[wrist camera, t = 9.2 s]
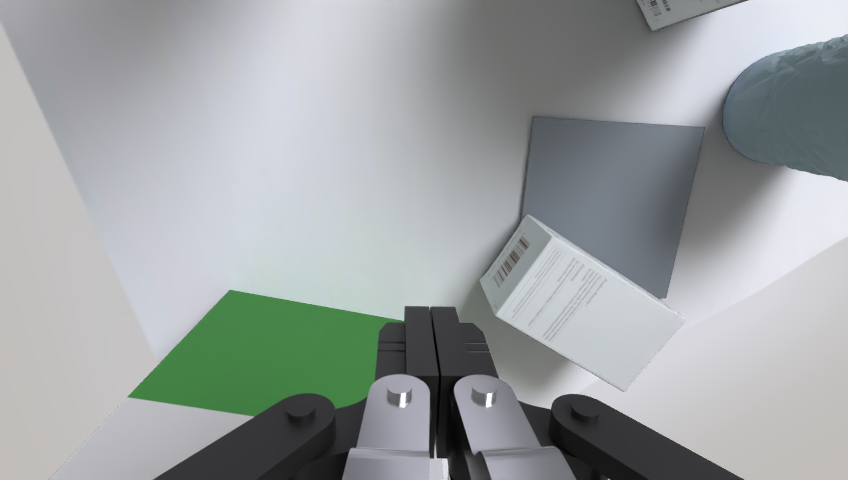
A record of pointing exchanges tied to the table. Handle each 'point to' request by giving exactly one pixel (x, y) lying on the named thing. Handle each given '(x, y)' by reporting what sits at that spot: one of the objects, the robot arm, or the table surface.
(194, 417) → the hardback book
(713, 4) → the hard drive box
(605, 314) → the supplement box
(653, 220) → the mat
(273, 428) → the robot arm
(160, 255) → the table surface
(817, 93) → the blue-grey plant pot
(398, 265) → the table surface
